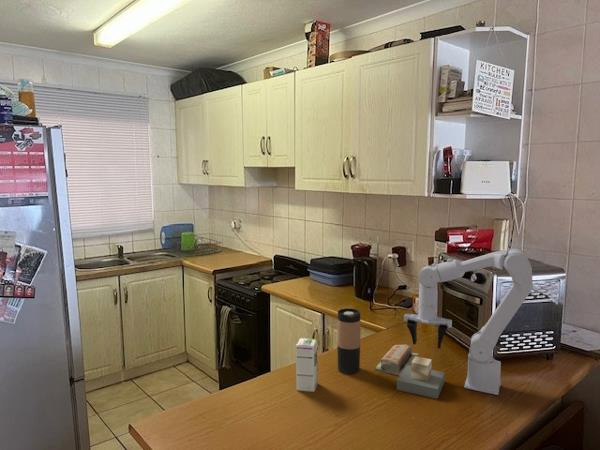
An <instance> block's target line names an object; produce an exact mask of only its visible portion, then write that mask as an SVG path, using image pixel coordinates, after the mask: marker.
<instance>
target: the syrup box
mask: <svg viewBox="0 0 600 450" xmlns="http://www.w3.org/2000/svg"><path fill="white" fill-rule="evenodd" d="M318 371H319V369H318V340H317V339H316V338H307V337H306V338H305V337H304V338H302V337H301V338H299V339H298V341H297V342H296V344H295V378H296V380H295V381H296V385H295V386H296V391H301V392H313V393H314V392H315V391H316V389H317V386H318V382H319V381H318V380H319V377H318V375H319V374H318Z"/></svg>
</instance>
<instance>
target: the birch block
mask: <svg viewBox="0 0 600 450" xmlns="http://www.w3.org/2000/svg"><path fill="white" fill-rule="evenodd" d="M431 370H432V359H431V358H426V357H420V356H418V357H416V356H415V358H414V359H413V361H412V362H411V378H413V379H418V380H422V381H427V382H428V380H429V378H430V376H431Z"/></svg>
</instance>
